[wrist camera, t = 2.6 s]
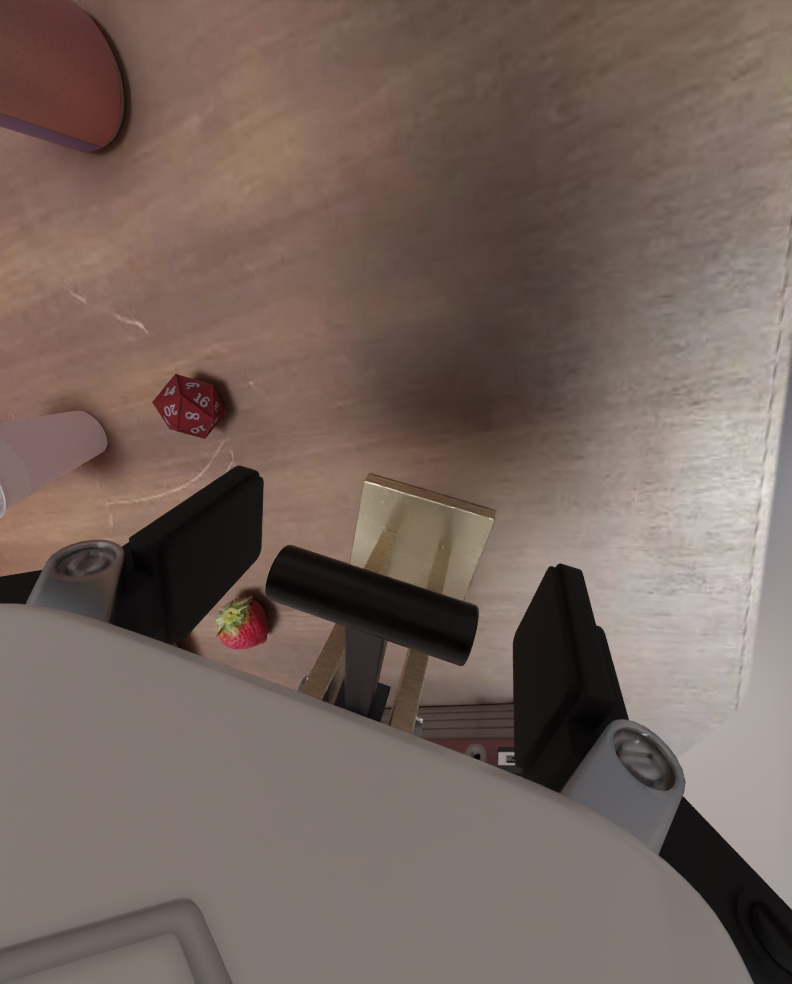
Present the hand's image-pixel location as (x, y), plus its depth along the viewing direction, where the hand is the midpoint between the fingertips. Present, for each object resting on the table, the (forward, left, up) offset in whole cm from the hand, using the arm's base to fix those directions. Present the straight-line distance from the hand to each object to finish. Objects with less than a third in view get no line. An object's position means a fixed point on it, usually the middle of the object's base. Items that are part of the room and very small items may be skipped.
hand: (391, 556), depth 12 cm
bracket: (+11, +2, -15) cm, 19 cm away
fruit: (+25, -8, -15) cm, 30 cm away
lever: (+5, +1, -1) cm, 6 cm away
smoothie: (+15, -26, -15) cm, 34 cm away
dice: (+7, -16, -15) cm, 23 cm away
